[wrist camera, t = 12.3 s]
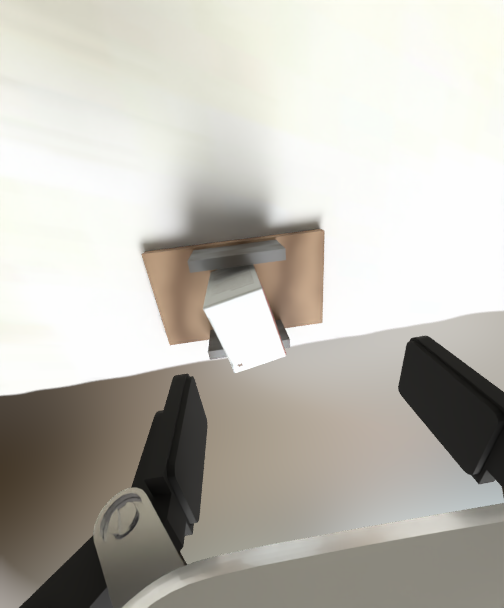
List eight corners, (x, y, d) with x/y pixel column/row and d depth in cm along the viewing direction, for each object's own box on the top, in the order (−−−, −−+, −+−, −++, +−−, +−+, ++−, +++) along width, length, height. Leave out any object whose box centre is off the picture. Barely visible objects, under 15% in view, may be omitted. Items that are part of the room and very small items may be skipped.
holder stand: (320, 228, 30) (342, 237, 25) (318, 317, 36) (336, 342, 30) (145, 251, 29) (125, 266, 24) (172, 339, 35) (161, 368, 29)
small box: (270, 309, 33) (288, 357, 24) (231, 323, 33) (234, 376, 24) (251, 255, 29) (263, 286, 20) (208, 271, 30) (201, 308, 20)
